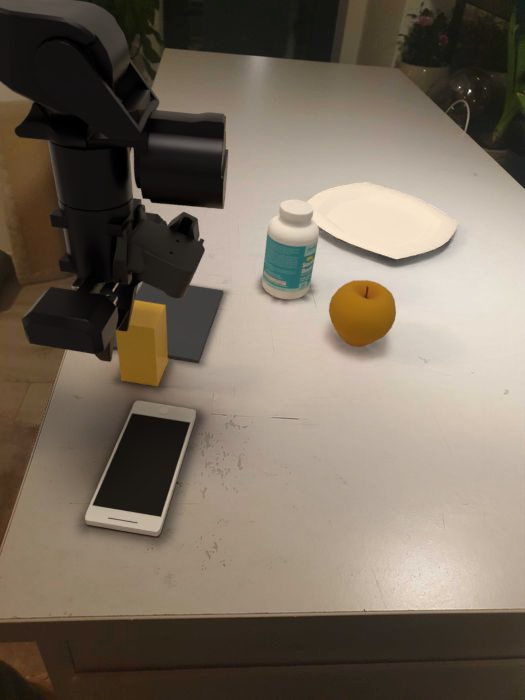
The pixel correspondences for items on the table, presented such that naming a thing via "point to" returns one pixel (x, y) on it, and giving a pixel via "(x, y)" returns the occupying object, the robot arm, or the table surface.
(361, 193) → the plate
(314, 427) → the table surface
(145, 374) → the block
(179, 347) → the mat
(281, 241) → the pill bottle
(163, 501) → the smartphone
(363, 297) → the apple
